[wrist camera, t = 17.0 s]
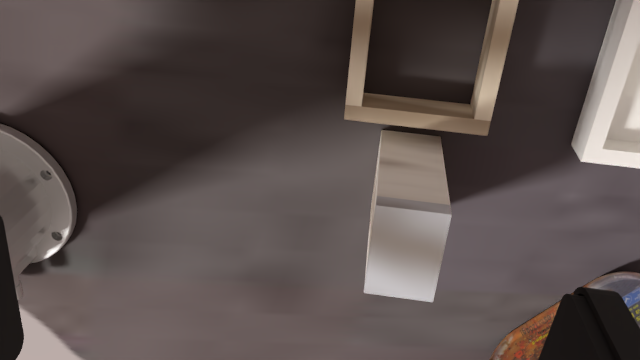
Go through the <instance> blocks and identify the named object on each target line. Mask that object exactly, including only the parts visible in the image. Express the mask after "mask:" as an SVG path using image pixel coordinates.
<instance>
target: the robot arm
mask: <svg viewBox="0 0 640 360" xmlns="http://www.w3.org/2000/svg"><path fill="white" fill-rule="evenodd" d="M76 218H77V206H76V199H75V195H74V192H73V189H72V187H71V184H70V182H69V180H68V178H67V177H66V175H65V173H64V171H63V169H62V168H61V167H60V166H59V164H58V163H57V162H56V161H55V159H54V158H53V157H52V156H51V155H50V154H49V153H48V152H47V151H46V150H45V149H44V148H43V147H42V146H41V145H39V144H38V143H36V142H35V141H34V140H32V139H31V138H29V137H28V136H27V135H25V134H23V133H21V132H19V131H17V130H15V129H13V128H11V127H9V126H6V125H3V124H0V360H16V358H17V357H18V355H19V353H20V351H21V349H22V345H23V340H24V334H23V328H22V323H21V317H20V311H19V305H18V300H19V299H20V298H22V297H23V289H22V285H21V282H20V280H19V275H20V273H21V272H22V271H23V270H24V269H25V268H26V267H27V266H28V264H29V263H35V262H39V261H42V260H44V259H47V258H49V257H51V256H52V255H54V254H55V253H56V252H58V251H59V250H60V249H61V248H62V247H63V245H64V244H65V243H66V242H67V241H68V239H69V238H70V236H71V235H72V233H73V230H74V227H75V224H76ZM538 360H640V328H639V326H638V324H637V323H636V321H635V319H634V317H633V316H632V314H631V312H630V311H629V309H628V307H627V305H626V304H625V302H624V300H623V298H622V297H621V296H620V294H619V293H617V292H615V291H609V290H602V289H595V288H587V287H578V288H577V289H576V290H575V291H574V293H573V294H565V295H564V296H563V297H562V299H561V301H560V304H559V307H558V309H557V312H556V315H555V317H554V320H553V322H552V325H551V328H550V330H549V333H548V335H547V338H546V341H545V343H544V346H543V348H542V351H541V354H540V356H539V359H538Z"/></svg>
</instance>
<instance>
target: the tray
mask: <svg viewBox="0 0 640 360" xmlns="http://www.w3.org/2000/svg"><path fill="white" fill-rule="evenodd" d="M571 145H572V147H573V149H574V151H575V152H576V154H577V156H578V157H579V159H580V161H581V162H589V163H598V164H607V165H615V166H624V167H632V168H640V0H616V2H615V5H614V8H613V11H612V15H611V18H610V21H609V24H608V27H607V31H606V34H605V37H604V40H603V43H602V47H601V50H600V53H599V56H598V59H597V63H596V66H595V69H594V72H593V75H592V79H591V82H590V85H589V88H588V91H587V95H586V98H585V101H584V104H583V107H582V111H581V114H580V117H579V120H578V123H577V127H576V130H575V133H574V136H573V140H572V143H571Z"/></svg>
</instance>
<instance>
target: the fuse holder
mask: <svg viewBox="0 0 640 360" xmlns="http://www.w3.org/2000/svg"><path fill="white" fill-rule="evenodd" d="M518 2H519V0H492V3H491V8H490V13H489V18H488V22H487V27H486V32H485V37H484V41H483V46H482V51H481V56H480V60H479V65H478V70H477V75H476V79H475V84H474V89H473V94H472V98H471V103H470V104H462V103H453V102H444V101H435V100H426V99H417V98H408V97H399V96H390V95H381V94H372V93H364V84H365V76H366V67H367V58H368V49H369V41H370V32H371V23H372V14H373V6H374V0H356V3H355V13H354V24H353V34H352V44H351V54H350V64H349V74H348V84H347V94H346V104H345V114H344V119H345V120H353V121H362V122H371V123H380V124H388V125H397V126H406V127H414V128H423V129H432V130H441V131H449V132H458V133H467V134H475V135H484V136H487V135H488V131H489V127H490V122H491V118H492V114H493V109H494V105H495V101H496V97H497V92H498V88H499V84H500V79H501V75H502V71H503V66H504V62H505V58H506V54H507V49H508V45H509V41H510V36H511V32H512V28H513V24H514V19H515V15H516V11H517V6H518ZM451 216H452V213H451V206H450V199H449V192H448V185H447V178H446V171H445V164H444V157H443V150H442V143H441V136H432V135H423V134H415V133H406V132H397V131H389V130H381V137H380V145H379V152H378V159H377V167H376V174H375V182H374V189H373V197H372V204H371V215H370V227H369V239H368V250H367V262H366V274H365V285H364V293H368V294H376V295H383V296H391V297H398V298H405V299H413V300H420V301H427V302H433V299H434V295H435V290H436V285H437V281H438V276H439V271H440V267H441V262H442V257H443V253H444V248H445V244H446V239H447V234H448V230H449V225H450V220H451Z"/></svg>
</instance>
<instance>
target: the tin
mask: <svg viewBox="0 0 640 360" xmlns="http://www.w3.org/2000/svg"><path fill="white" fill-rule="evenodd" d="M583 287H587V288H595V289H602V290H609V291H615V292H617V293H619V294H620V296H621V297H622V298H623V300H624V302H625V304H626V305H627V307H628V309H629V311H630V312H631V314H632V316H633V317H634V319H635V321H636V323H637V324H638V326H639V328H640V273H636V272H615V273H610V274H606V275H603V276H601V277H598V278H596V279H594V280H592V281H591V282H589V283H587V284H586V285H584V286H583ZM573 293H574V292H573ZM573 293H572V294H573ZM559 304H560V301H559V302H558V303H556V304H554V305H553V306H551V307H550V308H548V309H547V310H545V311H543V312H542V313H540V314H539V315H537V316H535V317H534V318H532V319H530V320H529V321H527V322H526V323H524V324H522V325H521V326H519V327H518V328H516V329H515V330H513V331H512V332H510V333H509V334H508V335H507V336H506V337H505V338H504V339H503V340H502V341H501V342H500V343H499V345H498V346H497V347H496V349H495V350H494V352H493V354H492V356H491V358H490V360H538V359H539V356H540V354H541V351H542V348H543V346H544V343H545V341H546V338H547V335H548V333H549V330H550V328H551V325H552V322H553V320H554V317H555V315H556V312H557V309H558V307H559Z"/></svg>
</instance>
